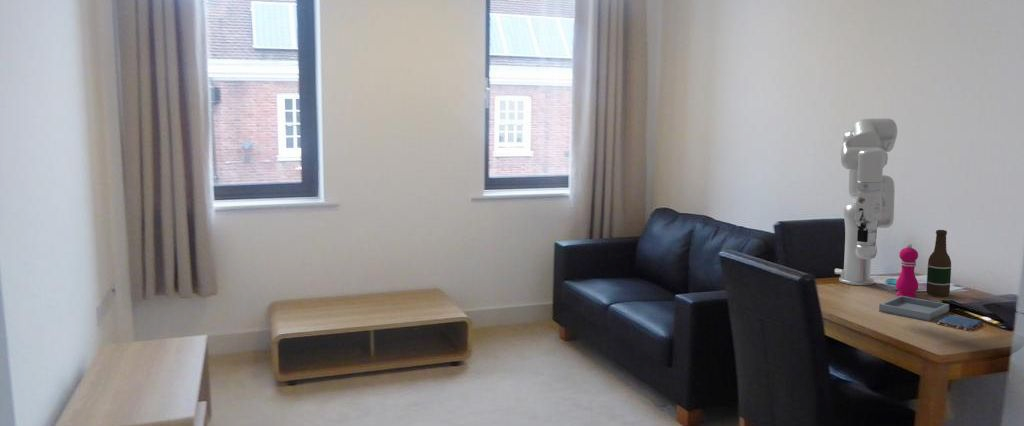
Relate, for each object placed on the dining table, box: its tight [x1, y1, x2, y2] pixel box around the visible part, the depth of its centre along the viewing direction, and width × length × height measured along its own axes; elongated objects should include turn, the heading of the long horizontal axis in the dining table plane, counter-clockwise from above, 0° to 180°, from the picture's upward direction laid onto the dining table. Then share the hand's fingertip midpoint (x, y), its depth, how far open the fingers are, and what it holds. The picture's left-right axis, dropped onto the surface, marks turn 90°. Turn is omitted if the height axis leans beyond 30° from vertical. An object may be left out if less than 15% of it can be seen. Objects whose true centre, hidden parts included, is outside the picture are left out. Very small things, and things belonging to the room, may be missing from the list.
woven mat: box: [935, 314, 985, 332], centre depth 233 cm, size 10×11×2 cm
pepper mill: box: [895, 243, 919, 298], centre depth 264 cm, size 7×7×20 cm
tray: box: [878, 296, 950, 322], centre depth 248 cm, size 16×16×2 cm
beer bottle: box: [926, 229, 952, 298], centre depth 267 cm, size 8×8×24 cm
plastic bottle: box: [855, 213, 879, 260], centre depth 245 cm, size 6×7×20 cm
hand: (866, 239), depth 245 cm, fingers closed on plastic bottle, 5 cm apart
